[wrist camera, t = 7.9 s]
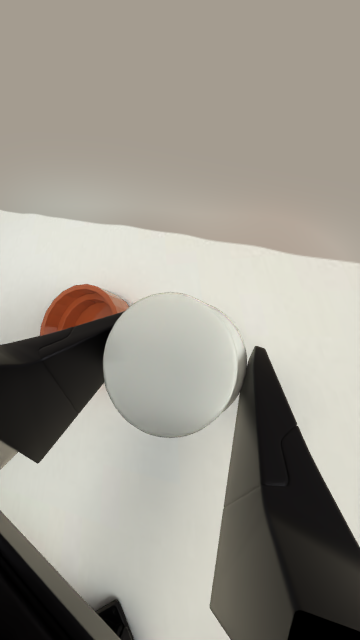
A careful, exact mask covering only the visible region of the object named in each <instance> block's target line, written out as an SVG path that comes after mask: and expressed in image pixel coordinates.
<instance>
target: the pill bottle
mask: <svg viewBox="0 0 360 640" xmlns="http://www.w3.org/2000/svg"><path fill="white" fill-rule="evenodd" d="M246 368H247V356H246V350H245V346H244V343H243V340H242V338H241V335H240V333H239V331H238V329H237V328H236V326H235V325H234V324H233V322H232V321H231V320H230V319H229V318H228V317H227V316H226V315H225V314H224V313H223V312H221V311H220V310H218V309H217V308H215V307H213V306H211V305H208V304H206V303H204V302H202V301H200V300H198V299H196V298H194V297H191V296H189V295H185V294H181V293H159V294H155V295H151V296H148V297H146V298H143V299H141V300H139V301H138V302H136V303H134V304H133V305H132V306H130V307H129V308H128V309H127V310H126V311H125V312H124V313H123V314H122V315H121V316H120V317H119V318H118V320H117V321H116V323H115V324H114V326H113V328H112V330H111V332H110V334H109V336H108V339H107V341H106V345H105V349H104V355H103V374H104V381H105V386H106V389H107V392H108V394H109V396H110V399H111V400H112V402H113V404H114V406H115V408H116V409H117V410H118V412H119V413H120V414H121V415H122V416H123V417H124V418H125V419H126V420H127V421H128V422H129V423H130V424H132V425H133V426H135V427H136V428H138V429H139V430H141V431H143V432H145V433H148V434H150V435H154V436H158V437H166V438H175V437H182V436H187V435H190V434H193V433H195V432H198V431H199V430H201V429H203V428H205V427H206V426H208V425H209V424H210V423H211V422H213V421H214V420H215V419H216V418H217V417H218V416H219V415H220V414H221V413H222V412H224V411H225V410H226V409H227V408H228V407H229V406H230V405H231V404H232V403H233V402H234V400H235V399H236V398H237V396H238V395H239V393H240V390H241V388H242V385H243V382H244V378H245V375H246Z"/></svg>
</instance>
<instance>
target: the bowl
mask: <svg viewBox="0 0 360 640" xmlns="http://www.w3.org/2000/svg"><path fill="white" fill-rule="evenodd" d="M128 308H129V306H128V304H127V303H126V302H125V301H124V300H122V299H121V298H120V297H118V296H117V295H114V294H112V293H110V292H108V291H106V290H104V289H101V288H99V287H96V286H92V285H88V284H84V285H76V286H73V287H71V288H69V289H67V290H65V291H63V292H62V293H61V294H60V295H59V296H58V297H56V298H55V299H54V301H53V302H52V303H51V305H50V307H49V308H48V310H47V311H46V313H45V316H44V319H43V322H42V324H41V330H40V336H42V335H46V334H49V333H53V332H57V331H60V330H64V329H67V328H70V327H75V326H77V325H80V324H84V323H87V322H90V321H94V320H97V319H100V318H103V317H107V316H110V315H113V314H117V313H120V312H123V311H126V310H127V309H128Z"/></svg>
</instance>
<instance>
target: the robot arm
mask: <svg viewBox="0 0 360 640" xmlns="http://www.w3.org/2000/svg"><path fill="white" fill-rule="evenodd" d="M124 312H125V311H123V312H120V313H117V314H113V315H110V316H107V317H103V318H100V319H97V320H94V321H90V322H87V323H84V324H80V325H77V326H75V327H70V328H67V329H64V330H60V331H57V332H53V333H49V334H46V335H42V336H38V337H33V338H29V339H25V340H21V341H17V342H13V343H8V344H2V345H0V470H1V469H2V468H3V467H4V466H5V465H6V464H7V463H8V462H9V461H10V460H11V459H12V458H13V457H14V456H15V455H16V454H17V453H18V452H20V453H21V454H23V455H25V456H26V457H28V458H29V459H31V460H33V461H34V462H36V463H39V462H40V461H41V460H42V459H43V458H44V456H45V455H46V454H47V453H48V451H49V450H50V449H51V448H52V446H53V445H54V444H55V443H56V441H57V440H58V439H59V438H60V437H61V435H62V434H63V433H64V432H65V430H66V429H67V428H68V427H69V425H70V424H71V423H72V422H73V420H74V419H75V418H76V417H77V415H78V414H79V413H80V412H81V410H82V409H83V408H84V407H85V405H86V404H87V403H88V402H89V400H90V399H91V398H92V397H93V395H94V394H95V393H96V392H97V390H98V389H99V388H100V387H101V385H102V384H103V383H104V382H105V381H104V374H103V355H104V349H105V345H106V341H107V339H108V336H109V334H110V332H111V330H112V328H113V326H114V324H115V323H116V321H117V320H118V318H119V317H120V316H121V315H122V314H123V313H124ZM296 425H297V422H296V420H295V418H294V415H293V413H292V411H291V408H290V406H289V404H288V401H287V399H286V397H285V394H284V392H283V390H282V387H281V385H280V383H279V380H278V378H277V376H276V373H275V371H274V369H273V366H272V364H271V362H270V359H269V357H268V355H267V352H266V350H265V349H264V348H261V347H258V346H255V347H254V349H253V352H252V354H251V356H250V358H249V361H248V365H247V368H246V375H245V378H244V382H243V385H242V388H241V390H240V395H239V403H238V410H237V417H236V424H235V431H234V438H233V445H232V452H231V459H230V466H229V473H228V480H227V487H226V495H225V502H224V509H223V515H222V522H221V530H220V537H219V544H218V551H217V558H216V565H215V572H214V579H213V586H212V594H211V601H210V609H211V611H212V612H213V614H214V615H215V617H216V618H217V620H218V621H219V623H220V624H221V626H222V627H223V629H224V630H225V632H226V633H227V635H228V636H229V638H230V639H231V640H360V547H359V545H358V543H357V541H356V540H355V538H354V536H353V534H352V532H351V530H350V528H349V527H348V525H347V523H346V521H345V519H344V517H343V515H342V513H341V512H340V510H339V508H338V506H337V504H336V502H335V500H334V498H333V497H332V495H331V493H330V491H329V489H328V487H327V485H326V483H325V481H324V480H323V478H322V476H321V474H320V472H319V470H318V468H317V466H316V464H315V462H314V460H313V458H312V456H311V454H310V452H309V450H308V447H307V445H306V443H305V441H304V439H303V436H302V434H301V432H300V429H299V427H298V426H296ZM0 640H134V639H133V636H132V633H131V631H130V628H129V626H128V623H127V621H126V618H125V616H124V613H123V610H122V608H121V605H120V603H119V602H118V601H117V600H115V601H113V602H111V603H110V604H108V605H106V606H105V607H103V608H101V609H99V610H98V611H96V612H95V611H94V610H93V609H92V608H91V607H90V606H89V605H88V604H87V603H86V602H85V601H84V599H83V598H82V597H81V596H80V595H79V594H78V593H77V592H76V591H75V590H74V589H73V588H72V587H71V586H70V585H69V583H68V582H67V581H66V580H65V579H64V578H63V577H62V576H61V575H60V574H59V573H58V572H57V571H56V570H55V568H54V567H53V566H52V565H51V564H50V563H49V562H48V561H47V560H46V559H45V558H44V557H43V556H42V555H41V554H40V552H39V551H38V550H37V549H36V548H35V547H34V546H33V545H32V544H31V543H30V542H29V541H28V540H27V539H26V537H25V536H24V535H23V534H22V533H21V532H20V531H19V530H18V529H17V528H16V527H15V526H14V525H13V524H12V523H11V521H10V520H9V519H8V518H7V517H6V516H5V515H4V514H3V513H2V512H1V511H0Z"/></svg>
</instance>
